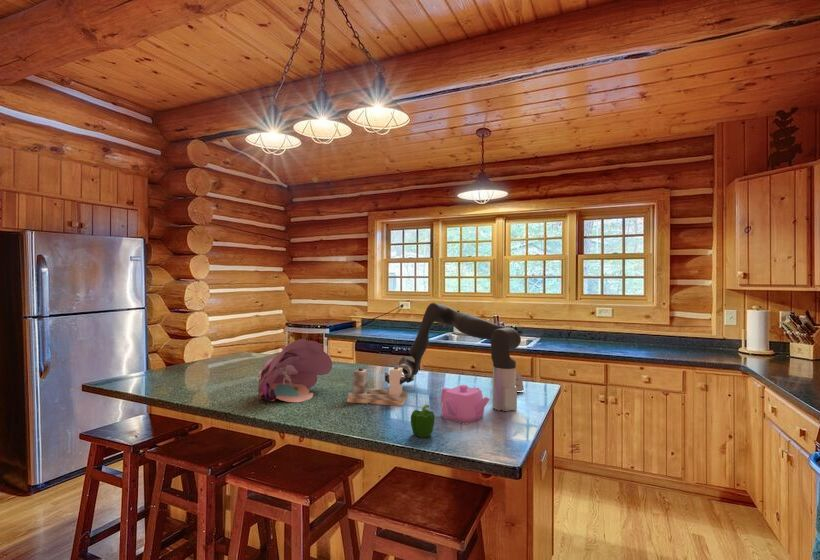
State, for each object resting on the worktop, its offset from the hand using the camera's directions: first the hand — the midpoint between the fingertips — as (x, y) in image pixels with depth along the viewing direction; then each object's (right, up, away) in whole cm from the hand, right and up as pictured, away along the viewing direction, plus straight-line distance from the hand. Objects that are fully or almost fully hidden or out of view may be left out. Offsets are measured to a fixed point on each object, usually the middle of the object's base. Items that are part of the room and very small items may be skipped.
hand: (394, 381), depth 184 cm
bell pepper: (+11, -9, -38) cm, 41 cm away
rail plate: (-8, -9, +4) cm, 12 cm away
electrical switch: (+55, -10, +21) cm, 60 cm away
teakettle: (+27, -10, -19) cm, 34 cm away
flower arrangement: (-47, -9, +8) cm, 48 cm away
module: (0, -6, +3) cm, 7 cm away
